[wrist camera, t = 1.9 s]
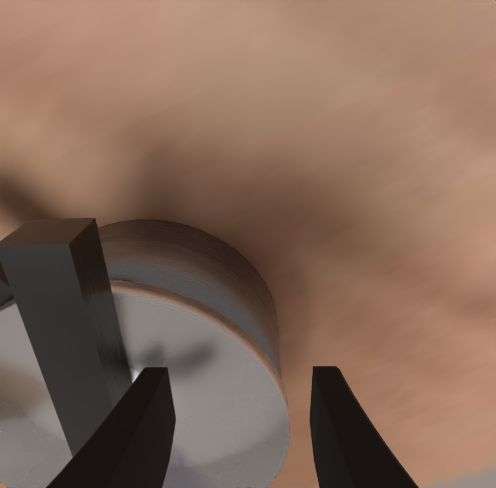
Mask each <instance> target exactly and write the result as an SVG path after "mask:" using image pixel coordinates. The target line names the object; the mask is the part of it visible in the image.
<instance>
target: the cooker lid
mask: <svg viewBox="0 0 496 488" xmlns="http://www.w3.org/2000/svg"><path fill="white" fill-rule="evenodd" d="M0 261H1V264H2V267H3V269H4V272H5V275H6V277H7V280H8V283H9V286H10V288H11V291H12V294H13V296H14V299H12V300H10V301H8V302H7V303H5V304H4V305H3V306H1V307H0V482H1V483H3V484H4V485H5V486H7V487H8V488H46V487H47V486H48V485H49V484H50V482H51V481H52V480H53V479H54V478H55V477H56V476H57V475H58V474H59V473H60V472H61V470H62V469H63V468H64V467H65V466H66V465H67V464H68V462H69V461H70V460H71V459H72V458H73V457H74V456H75V454H76V453H77V452H78V451H79V450H80V449H81V448H82V446H83V445H84V444H85V443H86V442H87V441H88V439H89V438H90V437H91V436H92V435H93V433H94V432H95V431H96V430H97V428H98V427H99V426H100V425H101V423H102V422H103V421H104V420H105V418H106V417H107V416H108V415H109V413H110V412H111V411H112V410H113V408H114V407H115V406H116V404H117V403H118V402H119V401H120V399H121V398H122V397H123V395H124V394H125V393H126V391H127V390H128V389H129V387H130V386H131V384H132V383H133V382H134V380H135V379H136V378H137V376H138V375H139V374H140V372H141V371H142V370H143V369H144V368H145V367H168V373H169V379H170V385H171V391H172V397H173V403H174V409H175V415H176V424H175V430H174V437H173V443H172V449H171V455H170V461H169V464H168V468H167V472H166V476H165V480H164V484H163V487H162V488H267V487H268V486H269V485H270V484H271V482H272V481H273V480H274V479H275V477H276V476H277V474H278V473H279V471H280V469H281V467H282V465H283V464H284V461H285V458H286V455H287V452H288V447H289V439H290V429H289V416H288V404H287V398H286V394H285V390H284V386H283V383H282V381H281V379H280V377H279V374H278V372H277V370H276V368H275V367H274V365H273V364H272V362H271V361H270V359H269V357H268V356H267V354H266V353H265V352H264V351H263V350H262V349H261V347H260V346H259V345H258V344H257V343H256V342H255V341H254V340H253V338H251V337H250V336H249V335H248V334H247V333H246V332H245V331H243V330H242V329H241V328H240V327H239V326H238V325H236V324H235V323H234V322H232V321H231V320H229V319H228V318H226V317H225V316H223V315H222V314H220V313H219V312H217V311H215V310H213V309H211V308H210V307H208V306H206V305H204V304H202V303H200V302H198V301H196V300H194V299H191V298H188V297H186V296H183V295H181V294H178V293H175V292H173V291H170V290H166V289H162V288H158V287H155V286H151V285H147V284H141V283H135V282H128V281H122V280H109V277H108V272H107V268H106V264H105V259H104V255H103V250H102V246H101V241H100V237H99V233H98V228H97V224H96V219H95V218H77V219H31V220H30V221H28V222H27V223H26V224H24V225H23V226H21V227H20V228H18V229H17V230H16V231H14V232H13V233H11V234H10V235H8V236H7V237H5V238H4V239H3V240H1V241H0Z"/></svg>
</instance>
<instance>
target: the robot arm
mask: <svg viewBox="0 0 496 488" xmlns="http://www.w3.org/2000/svg"><path fill="white" fill-rule="evenodd" d="M175 424H176V415H175V409H174V403H173V397H172V391H171V385H170V379H169V373H168V367H145V368H144V369H143V370H142V371H141V372H140V374H139V375H138V376H137V378H136V379H135V380H134V382H133V383H132V384H131V386H130V387H129V389H128V390H127V391H126V393H125V394H124V395H123V397H122V398H121V399H120V401H119V402H118V403H117V404H116V406H115V407H114V408H113V410H112V411H111V412H110V413H109V415H108V416H107V417H106V418H105V420H104V421H103V422H102V423H101V425H100V426H99V427H98V428H97V430H96V431H95V432H94V433H93V435H92V436H91V437H90V438H89V439H88V441H87V442H86V443H85V444H84V445H83V446H82V448H81V449H80V450H79V451H78V452H77V453H76V454H75V456H74V457H73V458H72V459H71V460H70V461H69V462H68V464H67V465H66V466H65V467H64V468H63V469H62V470H61V472H60V473H59V474H58V475H57V476H56V477H55V478H54V479H53V480H52V481H51V482H50V484H49V485H48V486H47V487H46V488H162V487H163V484H164V480H165V476H166V472H167V468H168V464H169V461H170V455H171V449H172V443H173V437H174V430H175ZM310 428H311V437H312V447H313V455H314V462H315V467H316V472H317V477H318V482H319V487H320V488H419V487H418V486H417V485H416V483H415V482H414V481H413V480H412V478H411V477H410V476H409V474H408V473H407V472H406V470H405V469H404V468H403V467H402V465H401V464H400V463H399V461H398V460H397V459H396V457H395V456H394V454H393V453H392V452H391V450H390V449H389V447H388V446H387V445H386V443H385V442H384V440H383V439H382V437H381V436H380V434H379V433H378V432H377V430H376V429H375V427H374V426H373V424H372V423H371V421H370V420H369V418H368V417H367V415H366V414H365V412H364V410H363V409H362V407H361V406H360V404H359V402H358V401H357V399H356V398H355V396H354V394H353V393H352V391H351V389H350V387H349V386H348V384H347V382H346V380H345V378H344V377H343V375H342V373H341V371H340V369H339V368H337V367H336V366H313V376H312V391H311V406H310Z"/></svg>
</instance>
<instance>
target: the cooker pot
mask: <svg viewBox="0 0 496 488" xmlns="http://www.w3.org/2000/svg"><path fill="white" fill-rule="evenodd" d="M98 233H99V237H100V241H101V246H102V250H103V255H104V259H105V264H106V268H107V272H108V277H109V280H122V281H128V282H135V283H141V284H147V285H151V286H155V287H158V288H162V289H166V290H170V291H173V292H175V293H178V294H181V295H183V296H186V297H188V298H191V299H194V300H196V301H198V302H200V303H202V304H204V305H206V306H208V307H210V308H211V309H213V310H215V311H217V312H219V313H220V314H222V315H223V316H225V317H226V318H228V319H229V320H231V321H232V322H234V323H235V324H236V325H238V326H239V327H240V328H241V329H242V330H243V331H245V332H246V333H247V334H248V335H249V336H250V337H251V338H253V340H254V341H255V342H256V343H257V344H258V345H259V346H260V347H261V349H262V350H263V351H264V352H265V353H266V354H267V356H268V357H269V359H270V361H271V362H272V364H273V365H274V367H275V368H276V370H277V372H278V374H279V377H280V379H281V369H280V356H279V342H278V329H277V318H276V311H275V307H274V303H273V300H272V297H271V295H270V292H269V290H268V288H267V286H266V284H265V282H264V281H263V279H262V278H261V276H260V275H259V273H258V272H257V271H256V270H255V268H254V267H253V266H252V265H251V264H250V263H249V262H248V261H247V260H246V259H245V258H244V257H243V256H242V255H241V254H240V253H238V252H237V251H236V250H235V249H233V248H232V247H230V246H229V245H227V244H226V243H225V242H223V241H222V240H220V239H218V238H216V237H214V236H212V235H210V234H208V233H206V232H203V231H201V230H198V229H195V228H193V227H190V226H186V225H182V224H178V223H174V222H168V221H160V220H132V221H123V222H118V223H114V224H110V225H106V226H103V227H101V228H98ZM12 299H14V296H13V294H12V291H11V288H10V286H9V283H8V280H7V277H6V275H5V272H4V269H3V267H2V264H1V261H0V307H1V306H3V305H4V304H5V303H7V302H8V301H10V300H12Z"/></svg>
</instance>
